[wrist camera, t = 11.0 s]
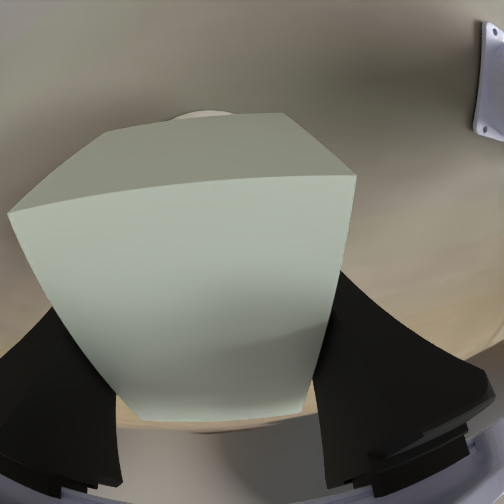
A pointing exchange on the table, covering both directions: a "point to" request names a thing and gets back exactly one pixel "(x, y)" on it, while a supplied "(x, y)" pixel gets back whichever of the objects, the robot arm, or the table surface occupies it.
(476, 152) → the table surface
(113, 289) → the pale green block
